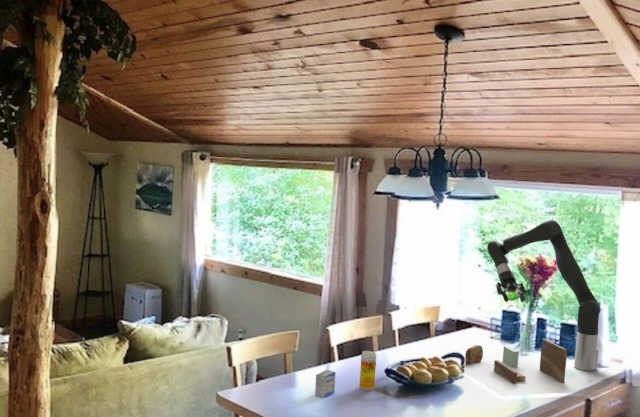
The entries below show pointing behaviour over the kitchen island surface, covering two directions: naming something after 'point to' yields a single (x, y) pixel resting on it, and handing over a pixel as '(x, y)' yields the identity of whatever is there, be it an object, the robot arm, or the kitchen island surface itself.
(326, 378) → the medicine box
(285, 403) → the kitchen island surface
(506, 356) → the pale green block
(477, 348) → the brown rounded slab
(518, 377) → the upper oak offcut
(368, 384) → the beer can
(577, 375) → the kitchen island surface
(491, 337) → the kitchen island surface
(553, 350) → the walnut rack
